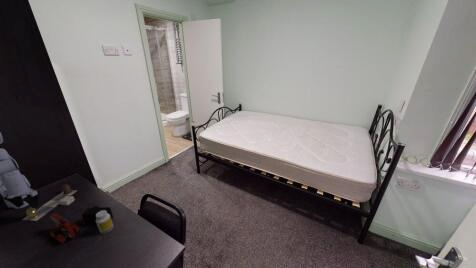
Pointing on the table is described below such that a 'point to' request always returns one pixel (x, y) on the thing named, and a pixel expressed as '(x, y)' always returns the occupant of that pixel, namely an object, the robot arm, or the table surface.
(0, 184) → the robot arm
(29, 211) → the pawn
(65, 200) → the die
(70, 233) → the toy fire truck
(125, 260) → the table surface
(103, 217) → the supplement bottle
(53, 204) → the board
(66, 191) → the pawn
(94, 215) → the digital camera
